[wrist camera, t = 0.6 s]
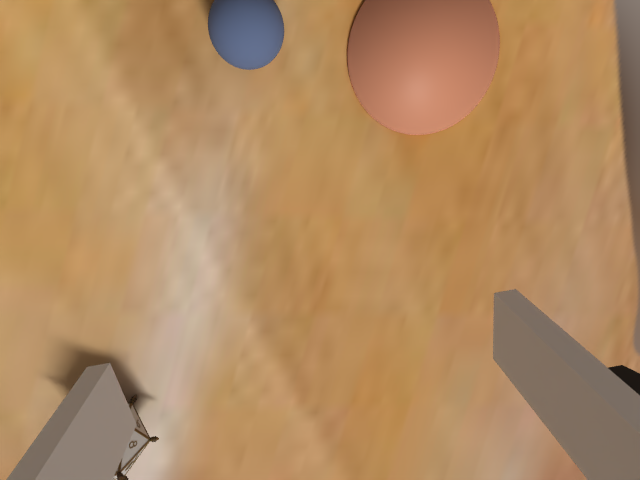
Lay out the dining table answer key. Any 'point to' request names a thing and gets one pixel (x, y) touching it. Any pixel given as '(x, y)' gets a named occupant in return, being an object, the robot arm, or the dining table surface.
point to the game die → (133, 445)
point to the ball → (246, 31)
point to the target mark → (422, 61)
